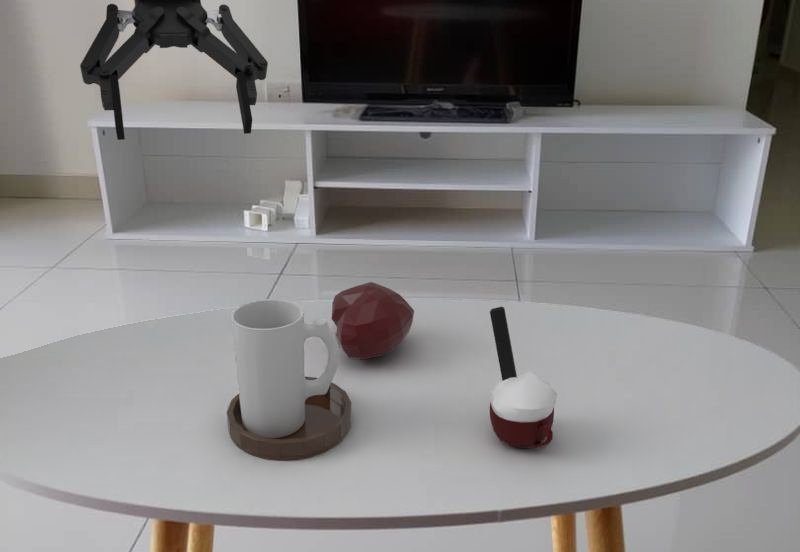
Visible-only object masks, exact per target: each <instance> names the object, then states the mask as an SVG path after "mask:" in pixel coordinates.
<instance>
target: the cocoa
mask: <svg viewBox="0 0 800 552" xmlns="http://www.w3.org/2000/svg"><path fill="white" fill-rule="evenodd" d="M489 315H490V321H491V327H492V332H493V338H494V343H495V347H496V354H497V359H498V364H499V371H500V375H501V380H499V382H498V383H497V384H496V385H495V387H494V388H493V389H492V390H491V392H490V393H489V395H490V397H489V398H490V402H489V419H490V424H491V428H492V430H493V433H495V436H496V437H497V438H498V439H499V440H500V442H502V443H504V444H506V445H508V446H510V447H513V448H518V449H528V448H532V447H534V448H542V447H545V446H548V445H549V444H551V443H552V441H553V439H554V435H553V431H552V427H553V423H554V417H555V406H556V404H557V403H556V402H557V392H556V391H555V390H554V389H553V388H552V386H551V383H550V382H549V381H547V380H546V379H544V378H543V377H542V376H540V375H539V374H538V373H537V372H536V371H526V372H524V373H523V374H521V375H519V376H518V375H517V368H516V363H515V358H514V353H513V348H512V343H511V336H510V331H509V325H508V320H507V314H506V309H505V307H504V306H498V307H494V308H491V309H490V310H489Z"/></svg>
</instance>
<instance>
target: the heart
mask: <svg viewBox="0 0 800 552" xmlns="http://www.w3.org/2000/svg"><path fill="white" fill-rule="evenodd" d="M414 315H415V309H413V307H412V306H411V305H410V304H409V302H408V301H406V299H405V298H403V296H401V294H399V293H398V292H396V291H395V290H392V289H391V288H389V287H386V286H385V285H384V286H383V285H381V284H379V283H375V282H374V281H369V282H366V283H365V282H364V283H362V284H359V285H355V286H352V287H350V288H346V289H344V290H341V291H340V292H338V293H337V294H336V295H335V296H334V297H333V301H332V304H331V320H332V321H333V324H334V325H335V326H336V332H335V336H336V337H335V338H336V340H337V341H338V343H339V345H340V346H341V349H342V351H343V352H344V353H345V355H346V356H347V357H348V358H351V359H358V360H367V359H373V358H377V357H381V356H385V355H388V353H391V351H393V350H394V349H395V348H396V347H397V346H399V345H400V344H401V343H402V341H404V339H405V338H406V336H407V335H408V334H409V332H410V330H411V328H412V325H413V322H414V317H415V316H414Z"/></svg>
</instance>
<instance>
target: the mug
mask: <svg viewBox="0 0 800 552" xmlns="http://www.w3.org/2000/svg"><path fill="white" fill-rule="evenodd" d="M304 317H305V310H304V308H303V307H302V306H301V305H299V304H298V303H296V302H293V301H290V300H287V299H279V298H278V299H277V298H271V299H270V298H265V299H259V300H258V299H257V300H253V301H249V302H246V303H244V304H241V305H240V306H238V307H236V308H234V310H233V311H232V312H231V315H230V319H231V323H232V324H231V325H232V338H233V347H234V349H233V350H234V357H235V366H236V376H237V377H236V378H237V386H238V394H239V398H240V406H241V415H242V424H243V427H244V429H245V430H246V431H247V432H249V433H252V434H254V435H257V436H259V437H264V438H281V437H285V436H288V435H290V434H293V433H294V432H296V431H297V430H299V429H300V428H301V427H302V425H303V424H304V421H305V400H306V399H307V398H309V397H311V396H315V395H324V394H326V393H327V391H328V389H329V386H330V384H331V382H332V381H333V379H334V377H335V374H336V372H337V369H338V366H339V361H340V350H339V345H338V342H337V338H336V337H335V335H334V333H333V331H332V330H331V328H330V326H329V322H328V319H326V318H323V319H315V320H314V321H313V322H312V323H310V324H309V323H305V322H304V321H305V319H304ZM313 337H314V338H319V339H320V340H322V342H324V344H325V346H326V347H327V353H328V356H327V363H326V365H325V366H326V367H325V369H324V371H323V372H322V373H321V375H320V376H319V377H317V378H318V379H315V380H307V379H305V342H306V340H307V339H309V338H313ZM332 383H333V382H332Z"/></svg>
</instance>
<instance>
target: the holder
mask: <svg viewBox="0 0 800 552" xmlns="http://www.w3.org/2000/svg"><path fill="white" fill-rule="evenodd" d="M304 376H305V375H304ZM318 378H319V377H314V376H305V379H307V380H315V379H318ZM352 410H353V409H352V401H351V399H350V397H349V395H348V393H347V392H346V390H344V389H343V388H341V387H340V386H339V385H337V384H336V383H334V382H331V384H330V386H329V389H328V391H327V393H326V394H324V395H315V396H311V397H309V398H307V399H306V400H305V421H304V424H303V425H302V427H301V428H300V429H299V430H297V431H296V432H294V433H293V434H290V435H288V436H285V437H281V438H264V437H259V436H257V435H254V434H252V433H249V432H247V431H246V430H245V429H244V427H243V424H242V415H241V406H240V398H239V393H237V394H236V395H235V396H234V397H233V398H232V399H231V400H230V403H229V405H228V407H227V410H226V418H227V419H226V421H227V427H228V434H229V438H230V439H231V441H232V443H234V445H235V446H236V447H237V448H239V449H240V450H241V451H243V452H244V453H247V454H248V455H251V456H253V457H256V458H261V459H264V460H265V459H266V460H270V461H271V460H273V461H294V460H295V461H296V460H303V459H308V458H311V457H315V456H318V455H321V454H323V453H325V452H328V451H329V450H331V449H333V448H335V447H336V446H337V445H339V444H340V443H341V442H342V441H343V440H344V439H345V438H346V437H347V435H348V434H349V432H350V430H351V426H352V417H353V414H352V413H353V412H352Z"/></svg>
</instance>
